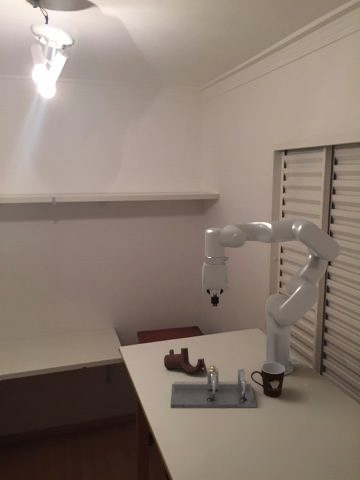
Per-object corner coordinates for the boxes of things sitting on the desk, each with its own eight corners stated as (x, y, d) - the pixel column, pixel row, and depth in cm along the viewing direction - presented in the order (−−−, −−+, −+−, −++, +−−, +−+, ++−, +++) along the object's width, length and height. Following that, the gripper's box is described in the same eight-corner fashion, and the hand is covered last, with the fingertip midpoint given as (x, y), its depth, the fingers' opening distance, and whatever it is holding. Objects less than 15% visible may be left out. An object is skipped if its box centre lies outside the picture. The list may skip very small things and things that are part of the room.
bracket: (203, 372, 167) (201, 346, 170) (164, 374, 173) (162, 349, 176) (208, 371, 173) (206, 345, 175) (170, 373, 179) (168, 348, 181)
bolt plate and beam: (250, 386, 162) (250, 366, 160) (256, 407, 148) (256, 385, 146) (172, 386, 162) (171, 366, 161) (170, 407, 149) (170, 386, 147)
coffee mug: (286, 389, 159) (287, 364, 157) (281, 401, 151) (282, 375, 149) (255, 383, 164) (256, 359, 162) (249, 394, 156) (250, 369, 154)
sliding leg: (217, 383, 161) (217, 364, 159) (219, 399, 150) (219, 378, 149) (207, 383, 161) (207, 364, 159) (208, 399, 150) (208, 378, 149)
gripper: (233, 257, 166) (233, 302, 170) (195, 258, 167) (195, 302, 170) (235, 262, 159) (234, 308, 162) (195, 262, 159) (196, 308, 163)
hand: (214, 305), depth 166 cm, fingers closed
